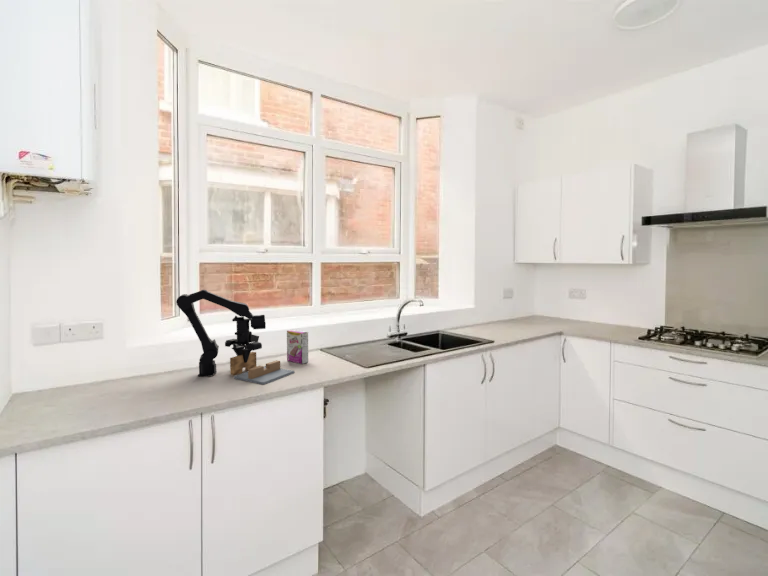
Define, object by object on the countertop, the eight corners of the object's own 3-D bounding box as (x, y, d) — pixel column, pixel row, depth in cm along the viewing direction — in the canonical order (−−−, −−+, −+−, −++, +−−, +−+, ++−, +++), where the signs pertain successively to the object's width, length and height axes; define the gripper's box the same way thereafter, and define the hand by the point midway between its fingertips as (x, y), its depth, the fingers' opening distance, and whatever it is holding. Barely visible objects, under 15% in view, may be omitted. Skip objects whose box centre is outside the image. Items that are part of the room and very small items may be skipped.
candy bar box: (286, 361, 212) (286, 330, 211) (293, 359, 216) (293, 329, 215) (302, 364, 206) (301, 332, 205) (308, 362, 210) (308, 331, 209)
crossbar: (234, 375, 186) (233, 358, 185) (230, 374, 187) (230, 357, 187) (256, 368, 198) (256, 352, 198) (252, 367, 200) (252, 351, 199)
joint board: (263, 384, 174) (263, 373, 173) (234, 378, 182) (233, 367, 181) (294, 372, 191) (294, 362, 191) (265, 367, 200) (265, 357, 199)
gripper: (269, 329, 194) (270, 360, 195) (241, 325, 203) (242, 356, 204) (252, 332, 184) (253, 366, 185) (223, 329, 193) (224, 361, 194)
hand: (243, 362), depth 192 cm, fingers closed on crossbar, 2 cm apart
